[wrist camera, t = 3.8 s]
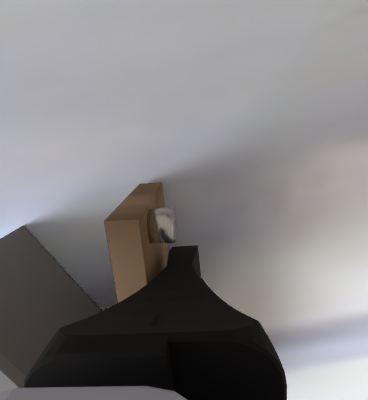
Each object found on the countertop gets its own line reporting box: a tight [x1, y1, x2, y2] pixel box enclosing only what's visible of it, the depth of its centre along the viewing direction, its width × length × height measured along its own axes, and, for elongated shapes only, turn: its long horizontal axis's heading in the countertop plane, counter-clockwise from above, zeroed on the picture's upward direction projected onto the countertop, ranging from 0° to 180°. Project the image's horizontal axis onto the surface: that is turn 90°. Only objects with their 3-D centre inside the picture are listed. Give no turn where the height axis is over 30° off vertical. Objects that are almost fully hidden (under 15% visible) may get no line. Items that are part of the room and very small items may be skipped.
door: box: [104, 183, 176, 303], centre depth 12 cm, size 12×2×5 cm, turn 4°
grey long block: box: [0, 226, 102, 392], centre depth 13 cm, size 12×5×5 cm, turn 36°
